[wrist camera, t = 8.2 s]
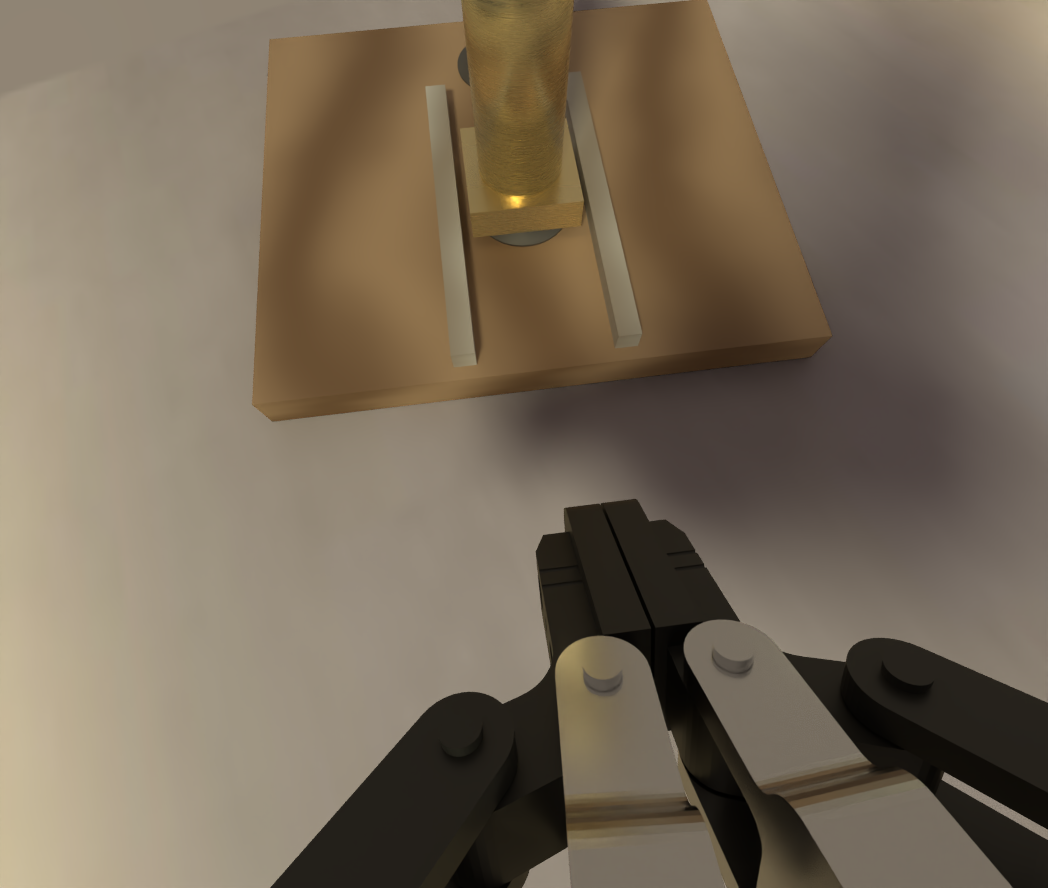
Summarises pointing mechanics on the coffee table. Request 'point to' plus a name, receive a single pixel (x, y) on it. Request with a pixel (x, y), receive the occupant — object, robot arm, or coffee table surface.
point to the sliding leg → (519, 117)
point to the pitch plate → (519, 258)
